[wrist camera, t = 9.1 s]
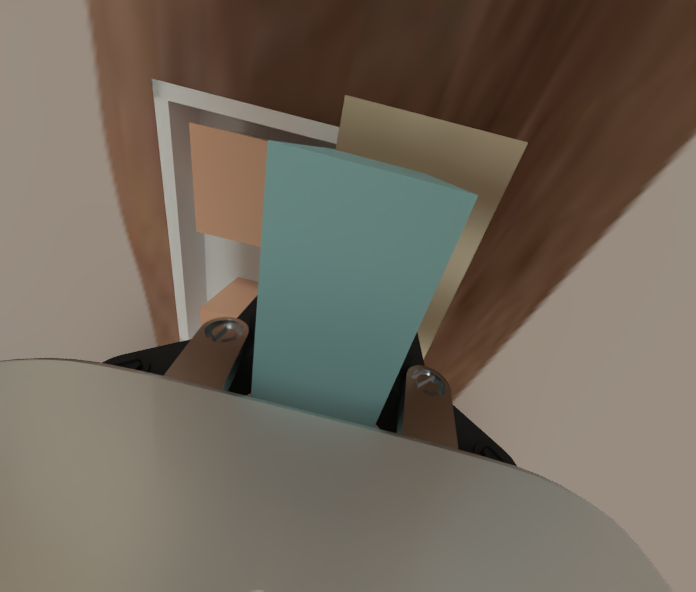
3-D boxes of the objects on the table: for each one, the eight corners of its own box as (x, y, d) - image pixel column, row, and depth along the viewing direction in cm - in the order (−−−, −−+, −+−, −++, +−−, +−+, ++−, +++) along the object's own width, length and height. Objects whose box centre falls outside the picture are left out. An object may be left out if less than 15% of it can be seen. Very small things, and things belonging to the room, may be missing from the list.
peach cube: (298, 292, 17) (237, 276, 17) (277, 327, 13) (199, 308, 13) (291, 340, 19) (236, 327, 18) (271, 383, 15) (203, 366, 15)
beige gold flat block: (352, 108, 12) (345, 95, 10) (496, 146, 12) (528, 142, 10) (304, 360, 20) (292, 391, 17) (393, 382, 20) (395, 416, 17)
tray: (191, 92, 13) (151, 78, 10) (348, 133, 13) (341, 127, 11) (203, 324, 19) (180, 346, 17) (306, 350, 19) (296, 374, 17)
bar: (330, 148, 9) (267, 140, 4) (424, 172, 9) (478, 195, 4) (291, 378, 15) (244, 496, 10) (349, 393, 15) (333, 518, 10)
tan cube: (320, 151, 13) (241, 132, 13) (297, 148, 9) (188, 122, 9) (309, 230, 15) (240, 214, 15) (287, 253, 11) (196, 231, 11)
